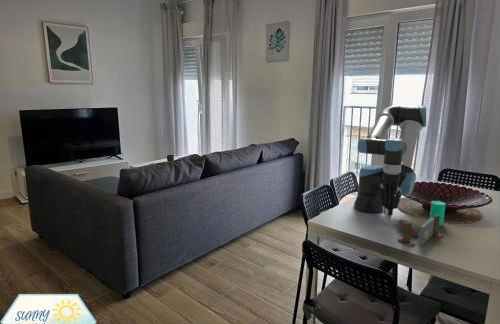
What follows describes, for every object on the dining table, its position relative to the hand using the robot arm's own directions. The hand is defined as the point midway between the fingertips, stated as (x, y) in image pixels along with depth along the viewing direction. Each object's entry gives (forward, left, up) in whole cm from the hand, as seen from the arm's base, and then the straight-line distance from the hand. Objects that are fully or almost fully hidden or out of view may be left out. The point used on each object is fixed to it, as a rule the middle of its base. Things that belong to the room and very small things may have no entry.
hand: (387, 221), depth 158 cm
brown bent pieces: (+17, +1, -2) cm, 17 cm away
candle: (+9, +23, -2) cm, 24 cm away
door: (+20, +2, -2) cm, 20 cm away
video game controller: (+10, +2, -3) cm, 10 cm away
